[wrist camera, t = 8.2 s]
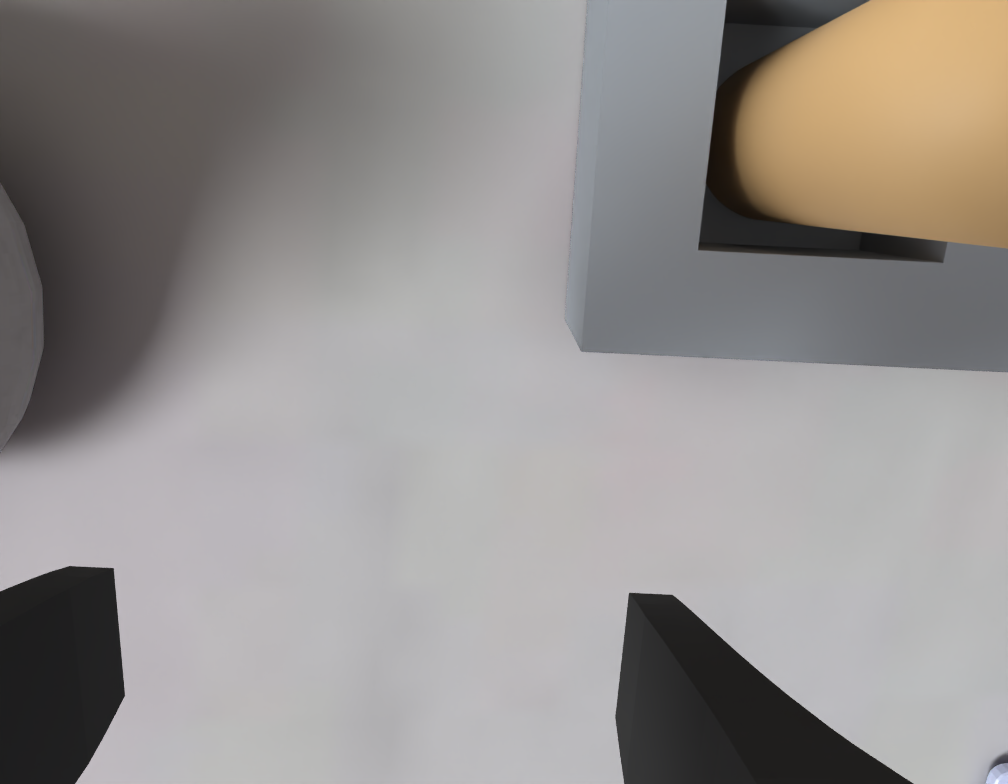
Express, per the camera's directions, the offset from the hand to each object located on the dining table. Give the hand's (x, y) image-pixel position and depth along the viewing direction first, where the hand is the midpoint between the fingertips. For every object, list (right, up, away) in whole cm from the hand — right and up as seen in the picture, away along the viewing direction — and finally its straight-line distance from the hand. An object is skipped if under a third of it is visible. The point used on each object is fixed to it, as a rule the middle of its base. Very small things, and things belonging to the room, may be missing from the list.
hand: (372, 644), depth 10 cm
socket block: (+8, +9, +7) cm, 14 cm away
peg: (+8, +9, +7) cm, 14 cm away
